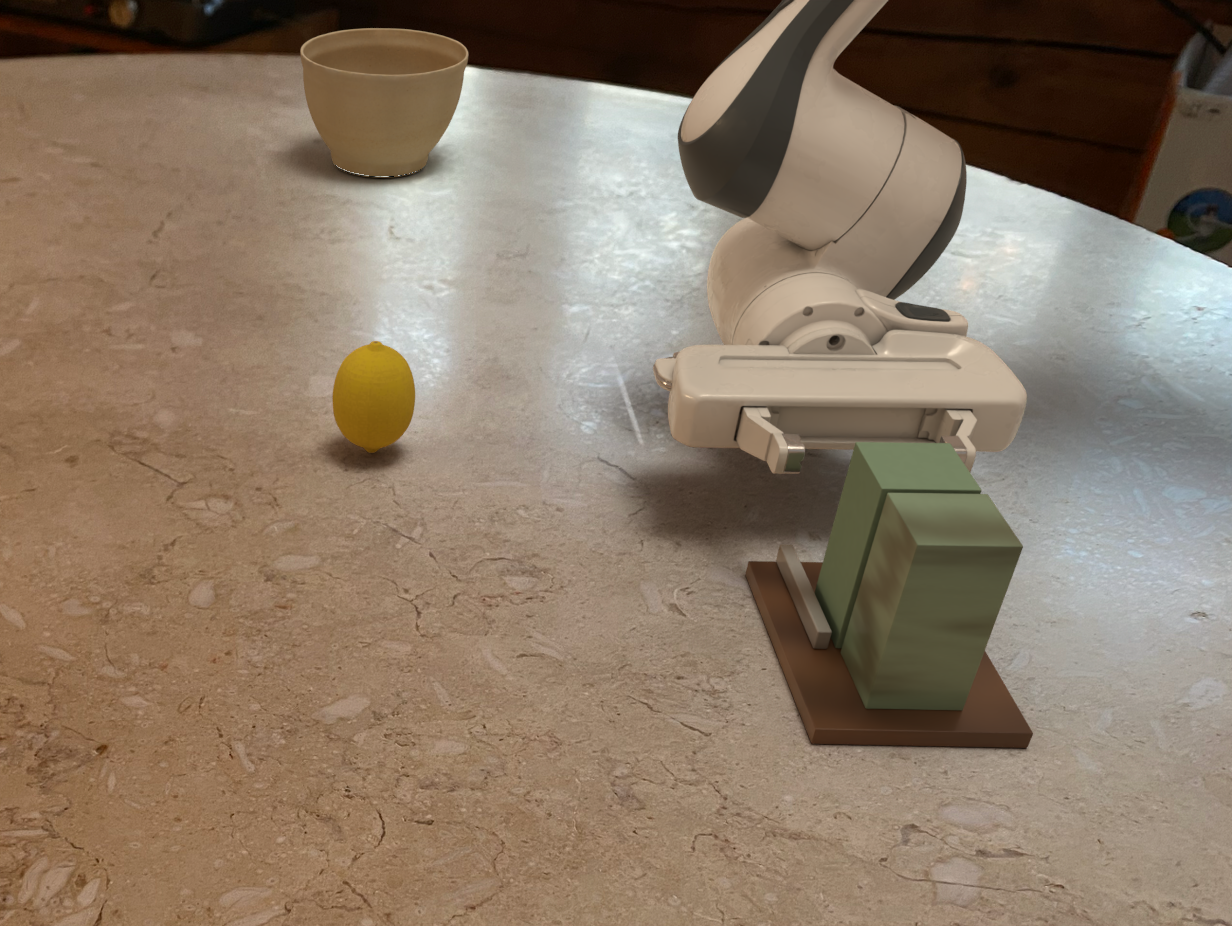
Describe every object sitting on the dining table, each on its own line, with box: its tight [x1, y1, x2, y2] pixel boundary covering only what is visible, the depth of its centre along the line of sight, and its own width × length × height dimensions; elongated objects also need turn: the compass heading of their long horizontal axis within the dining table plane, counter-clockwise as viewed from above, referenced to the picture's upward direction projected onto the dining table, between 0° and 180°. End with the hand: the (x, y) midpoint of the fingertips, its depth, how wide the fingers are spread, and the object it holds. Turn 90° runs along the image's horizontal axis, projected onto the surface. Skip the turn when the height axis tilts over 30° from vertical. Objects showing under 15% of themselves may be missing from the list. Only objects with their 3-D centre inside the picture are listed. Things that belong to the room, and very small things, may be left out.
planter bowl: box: [299, 27, 469, 179], centre depth 143 cm, size 16×16×11 cm
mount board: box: [744, 493, 1034, 749], centre depth 78 cm, size 16×11×11 cm
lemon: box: [332, 340, 416, 454], centre depth 97 cm, size 6×6×8 cm
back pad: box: [815, 442, 982, 648], centre depth 79 cm, size 5×5×10 cm
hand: (874, 464), depth 82 cm, fingers open, 8 cm apart
